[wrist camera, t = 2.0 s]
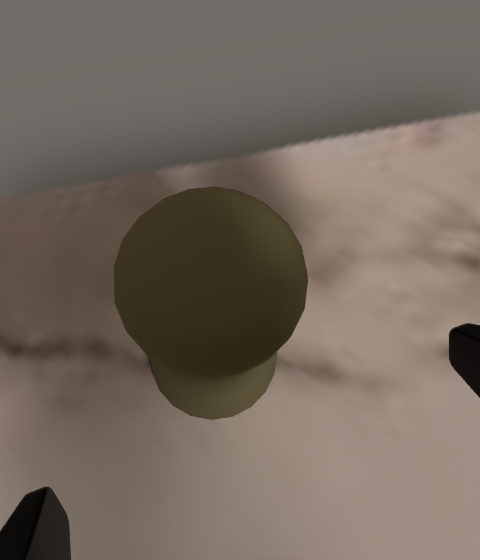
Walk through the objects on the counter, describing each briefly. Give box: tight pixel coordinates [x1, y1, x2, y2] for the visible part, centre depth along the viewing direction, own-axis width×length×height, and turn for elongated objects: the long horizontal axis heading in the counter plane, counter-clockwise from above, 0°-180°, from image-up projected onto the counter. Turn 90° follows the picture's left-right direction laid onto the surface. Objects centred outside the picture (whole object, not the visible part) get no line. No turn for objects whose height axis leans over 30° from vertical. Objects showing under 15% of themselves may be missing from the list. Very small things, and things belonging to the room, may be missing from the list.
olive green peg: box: [114, 187, 308, 420], centre depth 15 cm, size 6×6×11 cm
